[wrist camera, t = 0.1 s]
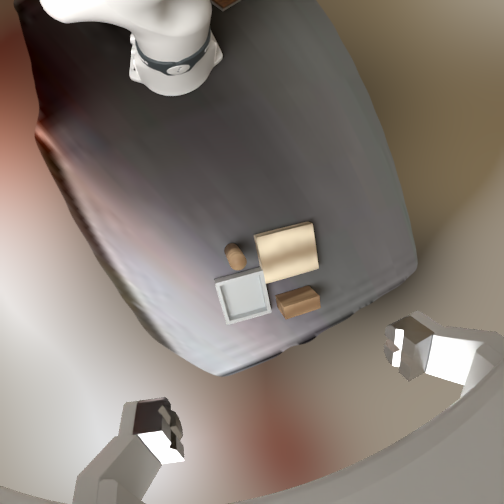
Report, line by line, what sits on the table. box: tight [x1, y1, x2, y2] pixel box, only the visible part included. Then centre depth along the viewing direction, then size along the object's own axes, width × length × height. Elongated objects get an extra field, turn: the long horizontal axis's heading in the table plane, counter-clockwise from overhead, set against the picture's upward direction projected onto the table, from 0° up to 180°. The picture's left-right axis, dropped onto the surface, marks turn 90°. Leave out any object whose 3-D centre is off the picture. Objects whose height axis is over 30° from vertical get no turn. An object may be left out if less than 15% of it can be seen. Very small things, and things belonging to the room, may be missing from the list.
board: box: [254, 222, 319, 284], centre depth 59 cm, size 10×12×3 cm
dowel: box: [224, 243, 247, 270], centre depth 53 cm, size 3×3×8 cm
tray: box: [214, 267, 271, 325], centre depth 59 cm, size 10×10×2 cm
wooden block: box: [275, 285, 321, 319], centre depth 60 cm, size 3×8×6 cm, turn 102°
